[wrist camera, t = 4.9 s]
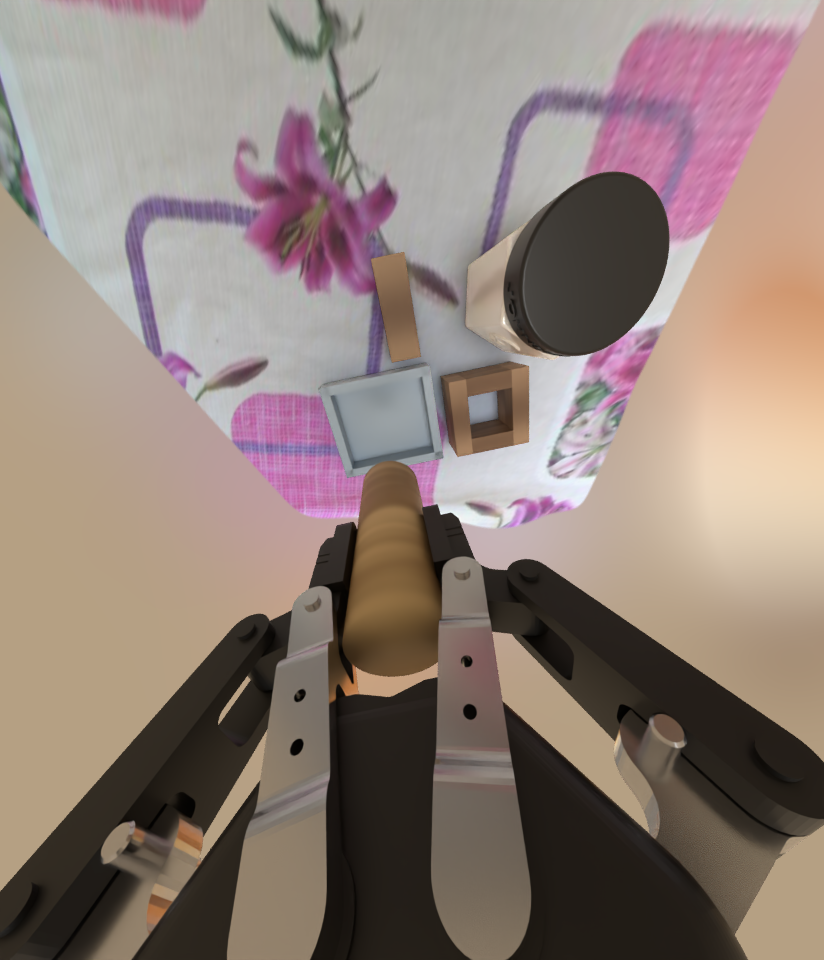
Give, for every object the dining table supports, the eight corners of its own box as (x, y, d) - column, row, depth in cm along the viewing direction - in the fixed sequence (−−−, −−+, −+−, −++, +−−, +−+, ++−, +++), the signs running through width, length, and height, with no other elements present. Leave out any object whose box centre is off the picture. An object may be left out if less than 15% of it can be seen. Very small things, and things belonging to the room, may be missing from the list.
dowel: (356, 467, 17) (327, 618, 8) (411, 455, 17) (443, 594, 8) (370, 513, 18) (359, 684, 9) (421, 502, 18) (458, 664, 9)
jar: (442, 315, 27) (483, 306, 16) (494, 212, 24) (587, 116, 13) (520, 365, 29) (599, 385, 18) (575, 277, 26) (708, 241, 15)
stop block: (372, 269, 25) (370, 258, 21) (401, 263, 24) (404, 251, 21) (390, 358, 28) (392, 362, 24) (415, 353, 28) (420, 356, 24)
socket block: (440, 376, 29) (448, 382, 25) (510, 361, 29) (528, 366, 25) (449, 442, 32) (457, 456, 29) (512, 429, 32) (528, 442, 28)
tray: (323, 384, 28) (318, 388, 26) (426, 362, 28) (429, 365, 26) (349, 467, 32) (347, 477, 30) (439, 449, 32) (443, 458, 30)
